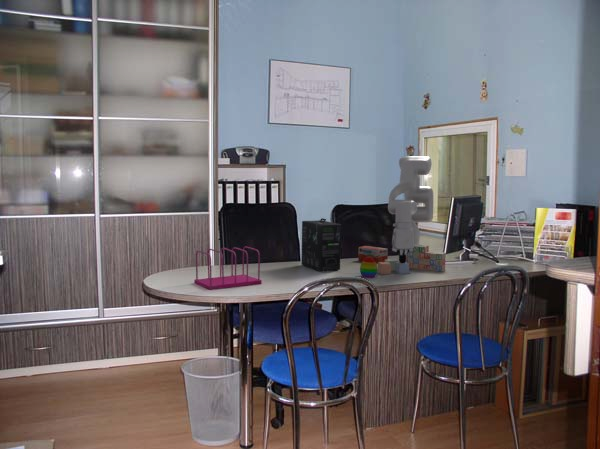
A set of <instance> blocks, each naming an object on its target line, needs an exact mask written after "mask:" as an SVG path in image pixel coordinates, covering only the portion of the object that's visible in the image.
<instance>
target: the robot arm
mask: <svg viewBox="0 0 600 449" xmlns="http://www.w3.org/2000/svg"><path fill="white" fill-rule="evenodd" d="M398 166H399V169H400V177H399V183H398V184H397V185H395V186H394V187H393V188H392V189H391V191H390V192H389V196H388V204H387V211H388V212H389V213H390V214H391V215H395V223H392V227H394V228H393V232H392V240H391V246H392V248H391V251H392V252H394V253H395V252H396V253H397V254H398V255H399V256H398V262H400V263H405V261H406V255H407V253H408V252H409V251H413V248H414V245H420V239H421V238H420V236H421V235H420V232H421V231H420V228H419V226H418V225H417V224H416V223H423V224H424V223H426V224H427V223H432V221H433V218H434V191H433V188H432V187H430V186H426V185H425V186H421V178H420V176H428V175H429V173H430V171H431V168H432V159H431V158H430V157H429V156H426V155H425V156H420V155H418V156H415V155H411V156H401V157H400V158H399V159H398ZM402 194H404V199H396V198H397V197H398V196H400V195H402ZM418 204H423V205H418ZM402 249H403V253H402Z"/></svg>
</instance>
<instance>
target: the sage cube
mask: <svg viewBox="0 0 600 449" xmlns="http://www.w3.org/2000/svg"><path fill="white" fill-rule="evenodd" d="M385 262H388V263H391V271H395V268H396V262H399V260H397V259H394V258H391V259H390V258H389V259H386V260H385Z"/></svg>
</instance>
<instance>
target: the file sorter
mask: <svg viewBox="0 0 600 449" xmlns="http://www.w3.org/2000/svg"><path fill="white" fill-rule="evenodd" d="M245 248H246V249H250V250H253V251H256V252H257V256H258V257H257V258H258V260H257V262H258V264H257V265H258V266H257V269H258V270H257V275H258V276H257V278H256V277H254V276H252V275H251V276H250V275H249V254H248V251H247V250H245ZM234 249H235V250H238V251H241V252H242V274H237V254H236V252H235V251H234ZM223 250H226V251H228V252H230V253H231V257H230V258H231V259H230V260H231V261H230V263H231V265H230V267H231V270H230V271H231V275H227V276H226V275H224V274H225V272H224V270H225V269H224V254H223ZM210 251H212V252H217V253H220V256H219V257H220V258H219V260H220V264H219V265H220V266H219V276H217V277H212V257H211V254H210ZM199 253H201V254H204V255H207V278H205V277H204V278H199V277H198V275H199V274H198V254H199ZM245 256H246V274H245ZM233 262H234V263H233ZM260 266H261V254H260V251H259V250H258V249H256V248H254V247H253V248H252V247H249V246H244V247H243V249H242V248H239V247H236V246H235V247H232V249H229V248H227V247H222V248H221V249H220V250H217V249H213V248H208V249H207V252H205V251H201V250H197V251H196V252H195V274H196V275H195V278H196V279H194V280H193V281H194V284H195V285H198V286H200V287H202V288H205V289H207V290H210V291H211V290H219V289H226V288H235V287H243V286H250V285H251V286H253V284H255V285H261V284H262V279H261V278H260V277H261V276H260V272H261V267H260Z"/></svg>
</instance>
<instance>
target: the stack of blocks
mask: <svg viewBox="0 0 600 449" xmlns="http://www.w3.org/2000/svg"><path fill="white" fill-rule="evenodd" d="M429 246H430V245H425V244H424V245H423V244H422V245H421V244H419V245H414V248H413V251H409V252H408V253H407V255H406V261H405V262H407V263H409V269H414V270H415V269H416V270H425V271H435V272H436V271H437V272H440V273H442V272H444V271H446V252H441V251H429ZM402 253H403V249H402Z"/></svg>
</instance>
